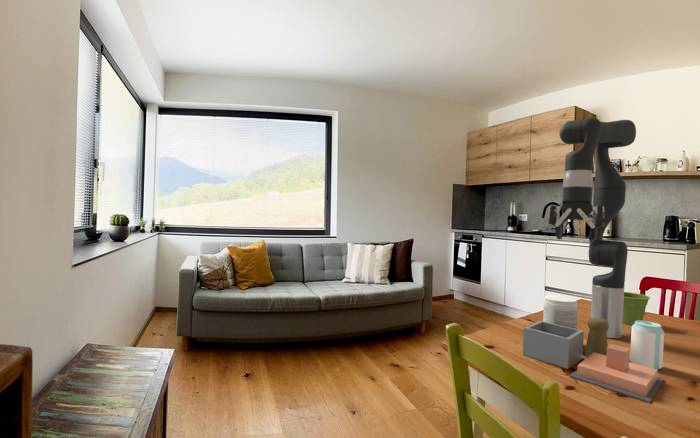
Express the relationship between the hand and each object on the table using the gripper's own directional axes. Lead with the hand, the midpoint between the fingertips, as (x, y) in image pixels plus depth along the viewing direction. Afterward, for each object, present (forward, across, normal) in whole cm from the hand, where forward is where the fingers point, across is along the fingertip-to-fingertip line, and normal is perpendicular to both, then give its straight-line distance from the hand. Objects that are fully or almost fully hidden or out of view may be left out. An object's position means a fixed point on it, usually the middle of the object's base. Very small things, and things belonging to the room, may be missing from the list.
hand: (574, 240), depth 109 cm
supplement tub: (+34, +5, -6) cm, 35 cm away
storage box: (+34, +2, +8) cm, 35 cm away
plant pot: (+34, -4, -55) cm, 65 cm away
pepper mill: (+34, -6, -4) cm, 35 cm away
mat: (+34, -14, +10) cm, 38 cm away
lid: (+34, -14, +10) cm, 38 cm away
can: (+34, -17, -7) cm, 39 cm away
